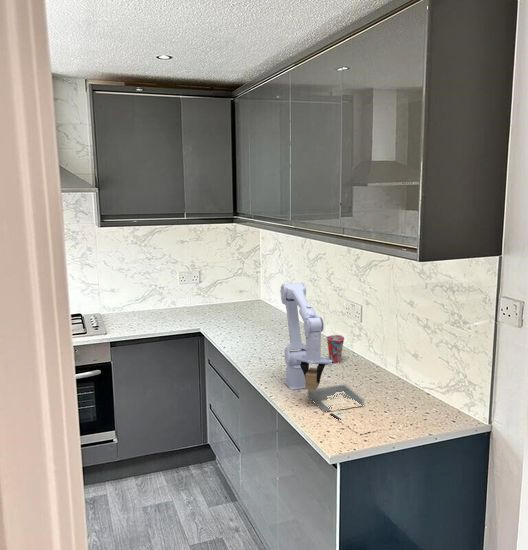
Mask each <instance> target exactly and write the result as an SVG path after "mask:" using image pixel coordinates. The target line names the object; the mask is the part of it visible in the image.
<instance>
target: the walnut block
mask: <svg viewBox="0 0 528 550" xmlns="http://www.w3.org/2000/svg"><path fill="white" fill-rule="evenodd" d="M320 382H321V381H320ZM320 382H319V383H317V367H309V370H308V371H307V373H306V374H305V388H304V389H305V390H307V391H308V390H316V389H317V388H319V385H320V384H321V383H320Z"/></svg>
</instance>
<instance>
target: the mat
mask: <svg viewBox="0 0 528 550" xmlns="http://www.w3.org/2000/svg"><path fill="white" fill-rule="evenodd" d="M335 393H336V392H335ZM335 393H328V394H321V395H314V396H307V397H308V398H309V397H310V398H311V399H312V400H311V399H310V398H309V399H310V400H311V401H312V402H313V401H314V402H315V403H314V402H313V403H314V405H316V406H317V407H318V406H319V407H318V408H319V409H320V410H321V411H322V410H323V411H324V412H325V413H327V412H326V411H331V410H329V409H330V407H331V406H333V405H337V404H338V403H339V404H340V403H341V404H342V403H343V404H345V403H348V402H347V401H344V400H345V399H343V398H341V401H342V399H343V401H342V402H341V401H340V402H339V401H337V400H338V398H337V400H336V398H335V399H334V397H335V395H334V394H335ZM340 394H341V393H340ZM340 394H339V395H340ZM345 394H346V395H345ZM345 394H344V395H343V393H342V394H341V395H343V397H344V396H345V397H344V398H346V397H347V399H348V398H349V399H351V398H352V397H349V395H348V394H347V393H346V392H345ZM331 395H332V396H333V395H334V397H333V399H332V398H331V399H330V400H327V399H328V398H327V396H331ZM337 395H338V394H337ZM337 395H336V397H337ZM347 395H348V396H347ZM339 400H340V398H339ZM352 400H353V398H352ZM327 406H328V407H329V406H330V407H329V408H328V407H327ZM331 409H332V407H331ZM323 411H322V412H323ZM324 412H323V413H324ZM331 412H332V411H331Z"/></svg>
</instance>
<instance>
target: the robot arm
mask: <svg viewBox="0 0 528 550" xmlns="http://www.w3.org/2000/svg"><path fill="white" fill-rule="evenodd" d="M306 295H307V286H306V284H305V283H304V282H297V283H296V282H294V283H282V284H281V285H280V299H281V304H283V305H284V306H285V310H286V317H287V327H288V334H289V342H290V343H289V344H288V345H287V346H286V347H285V348H284V363H285V365H286V369H285V372H286V373H285V378H286V379H285V380H283V382H284V384H285V385H286V386H287V387H288V388H289V389H290V390H291V391H293V390H302V389H305V374H306V373H307V371H308V370H309V368H310V367H309V366H310V364H311V365H317V366H316V368H317V383H319V382H321V376H322V374H323V372H324V369H325V367H326V366H328V367H332V365H333V363H332V360H330V359H329V358H328V359H327V358H323V357H321V354H322V353H321V349H322V348H321V347H322V344H321V343H322V332H323V331H324V327H325V325H324V320H323V318H322V316H319V315H317V313H316V311H315V309H314V307H313V305H311V304H309V303H308V300H307V297H306ZM298 307H299V310H298ZM299 315H300V317H301V320H302V321H303V329H304V336H305V343H303V342H302V334H301V327H300V325H301V324H300V320H299V319H300V318H299ZM319 384H320V383H319Z"/></svg>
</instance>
